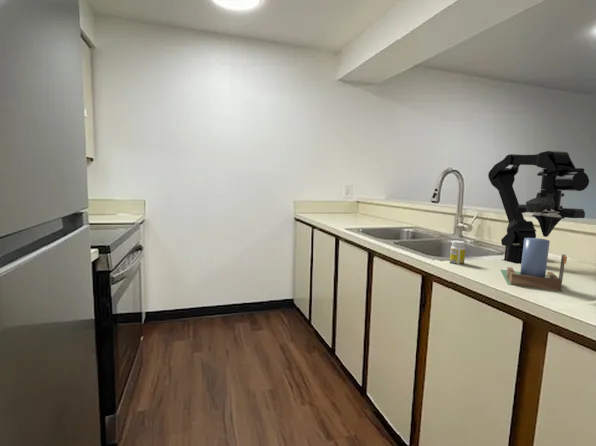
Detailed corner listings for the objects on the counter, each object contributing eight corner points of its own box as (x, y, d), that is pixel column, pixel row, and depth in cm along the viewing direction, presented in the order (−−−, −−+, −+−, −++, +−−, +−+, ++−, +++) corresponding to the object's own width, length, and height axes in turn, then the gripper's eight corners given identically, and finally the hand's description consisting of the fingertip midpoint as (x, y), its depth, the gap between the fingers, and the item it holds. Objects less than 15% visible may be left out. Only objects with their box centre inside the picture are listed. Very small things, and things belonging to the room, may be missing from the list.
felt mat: (500, 271, 116) (500, 269, 115) (546, 276, 110) (546, 274, 110) (507, 286, 98) (507, 284, 98) (563, 294, 93) (563, 291, 93)
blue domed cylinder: (514, 281, 102) (519, 238, 100) (528, 280, 104) (533, 237, 102) (534, 287, 96) (539, 241, 94) (549, 286, 98) (554, 241, 96)
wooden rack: (506, 276, 107) (510, 244, 106) (552, 282, 102) (556, 249, 101) (511, 286, 96) (515, 251, 95) (563, 293, 92) (568, 256, 90)
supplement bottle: (462, 263, 125) (464, 240, 124) (465, 266, 120) (467, 243, 119) (448, 262, 126) (450, 239, 125) (450, 265, 121) (452, 242, 120)
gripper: (507, 188, 119) (502, 232, 121) (565, 190, 102) (558, 242, 104) (530, 189, 123) (525, 232, 125) (589, 191, 106) (582, 241, 108)
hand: (545, 236), depth 115 cm, fingers closed
